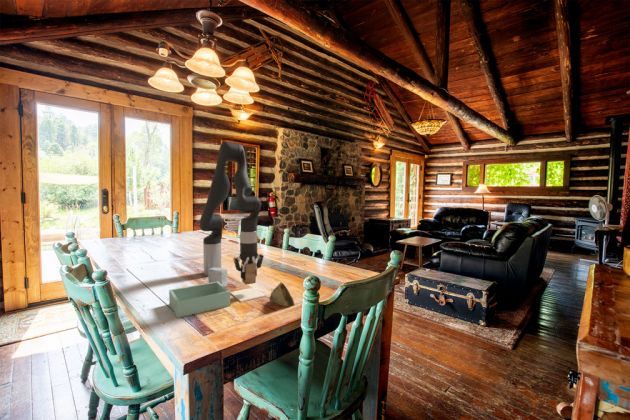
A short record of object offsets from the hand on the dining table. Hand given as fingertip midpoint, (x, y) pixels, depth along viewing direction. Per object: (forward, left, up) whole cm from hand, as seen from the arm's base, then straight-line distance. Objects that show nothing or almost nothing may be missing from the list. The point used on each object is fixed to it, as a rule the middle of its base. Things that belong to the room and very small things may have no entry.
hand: (248, 278), depth 128 cm
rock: (+16, +8, -8) cm, 19 cm away
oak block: (0, 0, -2) cm, 2 cm away
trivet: (0, 0, -8) cm, 8 cm away
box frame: (-1, -21, -8) cm, 22 cm away
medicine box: (-18, -8, -8) cm, 21 cm away
